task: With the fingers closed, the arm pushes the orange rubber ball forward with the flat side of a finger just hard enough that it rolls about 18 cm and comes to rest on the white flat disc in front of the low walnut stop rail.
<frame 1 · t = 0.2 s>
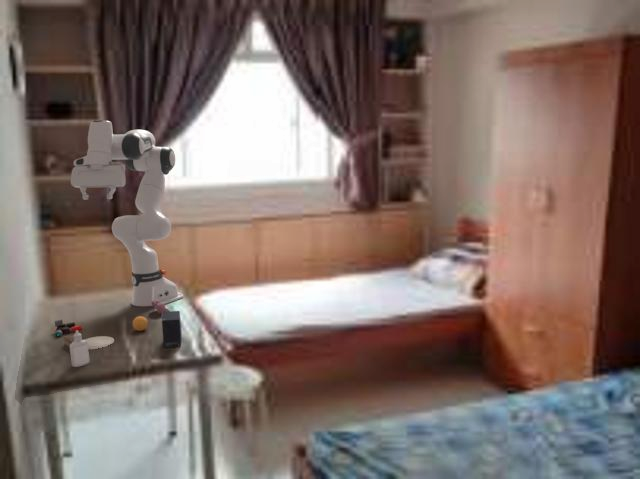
hand: (97, 198, 232), 52 cm above the table, tool tilted 20°, fingers open, 8 cm apart
small box: (173, 343, 229), on the table
eye dropper bottle: (80, 365, 211), on the table
white flat disc: (95, 343, 231), on the table
ball: (140, 323, 242), on the table
toy gun: (69, 333, 244), on the table
stop rail: (76, 348, 226), on the table
video game controller: (160, 313, 263), on the table
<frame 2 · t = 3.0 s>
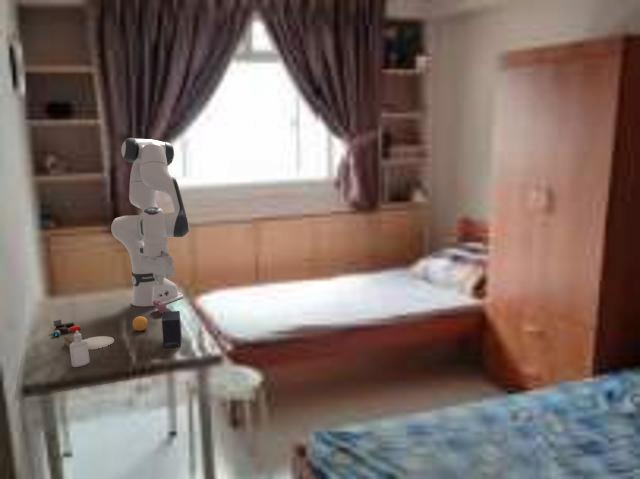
hand: (159, 284, 245), 16 cm above the table, tool pointing down, fingers closed
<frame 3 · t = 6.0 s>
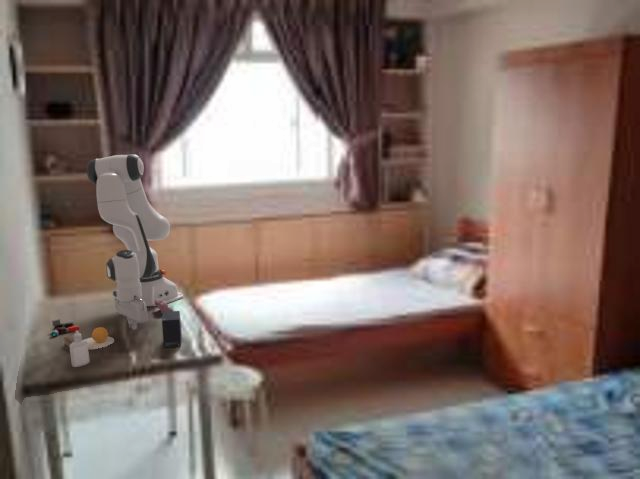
hand: (133, 328, 240), 2 cm above the table, tool pointing down, fingers closed
ball: (100, 334, 231), on the table
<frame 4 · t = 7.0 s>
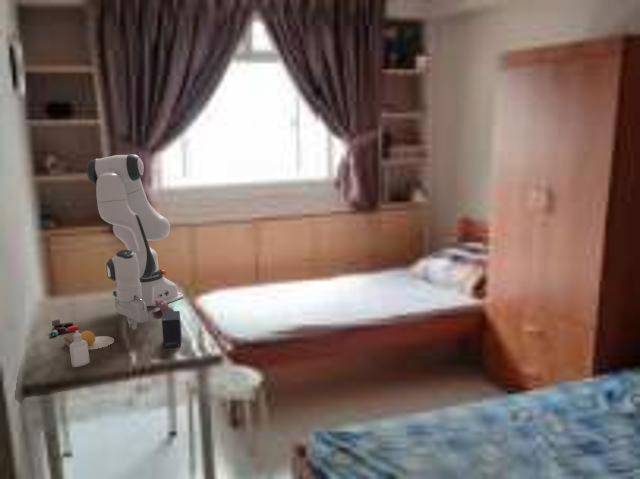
hand: (133, 328, 240), 2 cm above the table, tool pointing down, fingers closed
ball: (87, 338, 228), on the table
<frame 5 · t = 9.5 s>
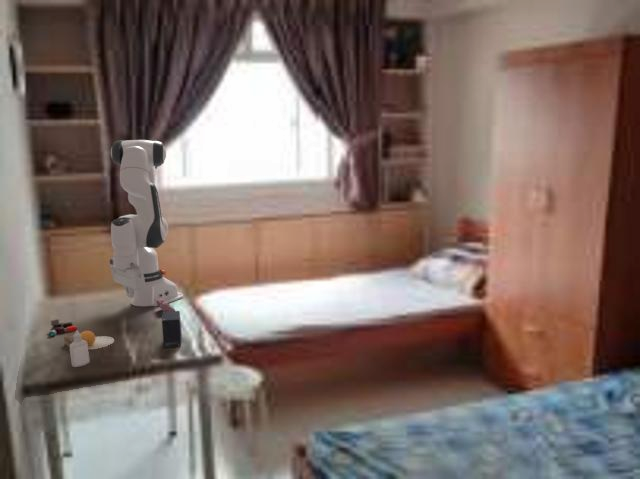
hand: (130, 296, 238), 14 cm above the table, tool pointing down, fingers closed
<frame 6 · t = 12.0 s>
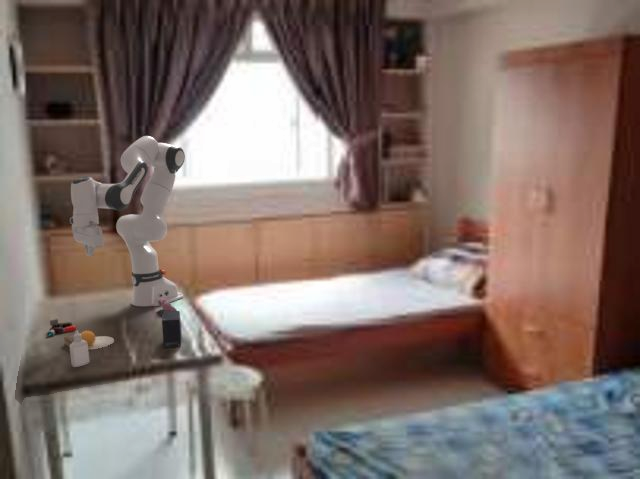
hand: (90, 255, 242), 29 cm above the table, tool pointing down, fingers closed
at the end: ball 3.2 cm from the white flat disc (horizontally); ball at rest at the end (0.0 cm/s); ball moved 21.1 cm from its start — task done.
